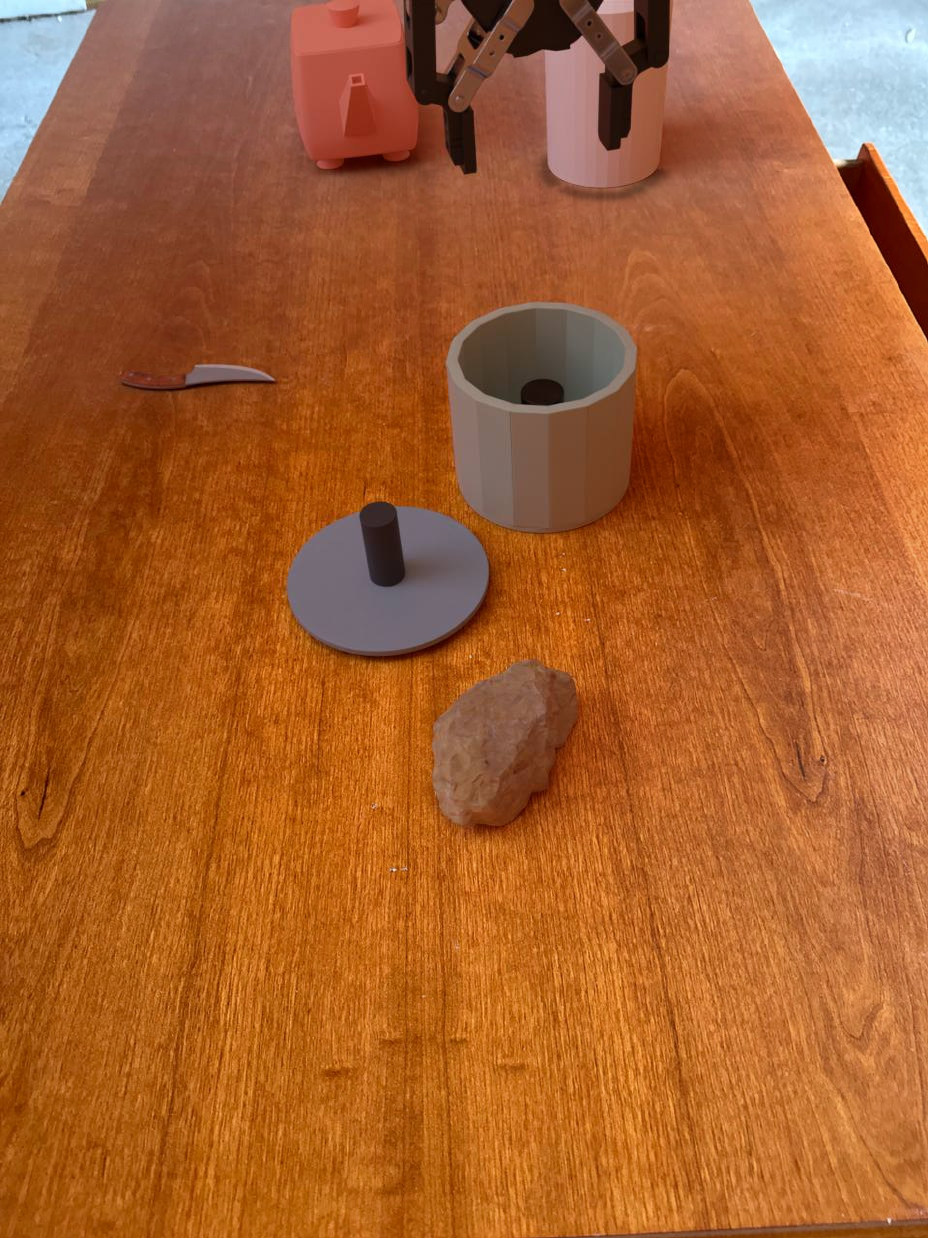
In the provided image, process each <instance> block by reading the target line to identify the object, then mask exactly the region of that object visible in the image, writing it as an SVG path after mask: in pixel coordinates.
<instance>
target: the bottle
mask: <svg viewBox="0 0 928 1238" xmlns="http://www.w3.org/2000/svg"><path fill="white" fill-rule="evenodd" d="M673 8H674V0H670V34H672V33H671V32H672V23H673V22H672V21H673V19H672V18H673V10H674V9H673ZM597 14H598V15H599V17H600V18H601V19H602V21H603V22H604V23H605V25H606V26H607V27H608V29H609V30H610V31H611V33H612V34H613V35H614V37H615V38H616V39H617V41H618V42H619V44H620V45H621V46H623V45H624V44H626V43H628V42H630V41H632V40H634V0H604V1H603V2H602V4H601V6H600V7H599V9H598V11H597ZM670 43H671V37H670V38H669V46H670ZM544 67H545V68H544V71H545V73H544V74H545V77H544V79H545V110H546V111H545V113H546V153H547V158H546V159H547V167H548V169H549V170H550V172H551V173H552V174H553V175H554V176H555V177H556V178H557V179H559V180H562V181H564V182H566V183H569V184H572V185H574V186H580V187H583V188H584V187H585V188H596V189H600V188H602V189H604V188H605V189H607V188H608V189H609V188H617V187H622V186H623V187H624V186H629V185H631V184H635V183H638V182H641V181H642V180H644V179H646V178H648V177H649V176H651V175H652V174H653V173H655V171H656V170H657V169H658V167H659V165H660V161H661V151H662V150H661V148H662V138H663V127H664V114H665V104H666V103H665V102H666V91H667V90H666V89H667V79H668V68H669V60H668V61H667V63H666V64H665V65H664V66H663V67H661V68H653V67H651V68H649V69H647V70H645V71H643V72H642V73H640V74H639V75H638V76H637V77H636V79H635V81H634V83H633V92H632V110H631V112H632V113H631V129H630V132H629V134H628V136H627V138H621V147H620V149H617V150H611V151H607V150H606V149H605V147H604V146H603V144H602V143H601V142H600V140H599V136H598V107H599V73H605V64H604V63H603V62H602V60H601V59H600V58H599V57H598V55H597V54H596V53H595V51H594V50H593V49H592V47H591V46H590V45H589V44H588V42H587V41H586V40H585V38H584V37H583V36H581V37H580V38H579V39H578V40H577V41H576V42H574V43H573V44H571V45H570V49H568V50H562V51H550V50H544Z"/></svg>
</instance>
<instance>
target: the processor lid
mask: <svg viewBox="0 0 928 1238" xmlns="http://www.w3.org/2000/svg"><path fill="white" fill-rule="evenodd" d="M489 583H490V565H489V560H488V556H487V553H486V550H485V549H484V547H483V545H482V543H481V541H480V540H479V539H478V537H477V536H476V535H475V534H474V533H473V532H472V531H471V530H470V529H469V528H467V527H466V526H465V525H464V524H462V523H461V522H459V521H458V520H456V519H454V518H452V517H450V516H448V515H446V514H444V513H442V512H438V511H434V510H431V509H428V508H422V507H417V506H416V507H415V506H403V505H402V506H401V505H400V506H399V505H393V503H391V502H388V501H383V500H381V501H379V500H378V501H372V502H369V503H368V504H366V505H364V506H363V507H362V509H360V511H357V512H354V513H350V514H348V515H345V516H344V517H340V518H339V519H337V520H335V521H333V522H331V523H329V524H327V525H326V526H325V527H323V528H322V529H320V530H319V531H318V532H316V533H315V534H314V535H313V536H312V537H310V538H309V539H308V540H307V541H306V542H305V543H304V545H303V546H301V548H300V549H299V551H298V552H297V554H296V555H295V556H294V558H293V560H292V562H291V565H290V567H289V570H288V574H287V580H286V594H287V599H288V603H289V606H290V610H291V612H292V614H293V616H294V618H295V619H296V621H297V622H298V624H299V625H300V627H302V628H303V630H305V631H306V633H307V634H309V636H311V637H312V638H314V639H316V641H318V642H320V643H322V644H324V645H326V646H327V647H330V648H331V649H332V648H333V649H335V650H338V651H340V652H344V653H349V654H352V655H359V656H367V657H385V656H386V657H388V656H391V657H392V656H399V655H404V654H409V653H413V652H417V651H420V650H423V649H426V648H429V647H431V646H435V645H436V644H438V643H440V642H442V641H444V640H446V639H448V638H449V637H451V636H452V635H454V634H455V633H457V632H458V631H459V630H461V629H462V628H463V627H464V626H465V625H467V624H468V623H469V621H470V620H471V619H472V618H473V617H474V616H475V615H476V613H477V611H479V609H480V608H481V606H482V604H483V602H484V600H485V598H486V595H487V592H488V589H489V585H490V584H489Z"/></svg>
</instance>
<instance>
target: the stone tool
mask: <svg viewBox="0 0 928 1238" xmlns="http://www.w3.org/2000/svg"><path fill="white" fill-rule="evenodd" d="M576 686H577V685H576V682H575V679H574V678H573V676H572V675H571V674H570V673H568V671H565V670H559V669H554V668H551V667H548V666H546V665H545V664H544V663H543V662H541V661H540V660H539V659H537V658H529V659H525V660H520V661H516V662H514V663H511V664H510V665H509V667H508V668H507V669H505V670H504V671H503V672H500V673H497V674H495V675H494V676H491V677H489V678H486V679H482V680H480V681H477V682H476V683H475V684H473V685H472V686H471V687H470V688H468V689H467V690H466V691H464V692H462V693H461V695H460V696H459V697H457V698H456V699H455V700H454V701H453V703H452V704H451V706H450V707H449V708H448V709H447V710H446V711H444V712H443V713H442V714H441V715H440V716H439V717H438V718H437V719H436V720H435V722H434V723H433V726H432V731H433V736H434V737H433V739H432V742H431V751H432V753H433V757H434V762H433V763H434V765H433V766H434V767H433V770H432V771H431V780H432V781H431V782H432V785H431V786H432V788H433V790H434V791H435V796H436V798H437V800H438V807H439V809H440V811H441V812H442V814H443V816H444V817H445V818H447V819H448V820H449V821H451V823H453V824H455V825H458V826H459V827H462V828H466V829H469V830H470V829H472V828H474V827H475V826H476V825H477V824H480V825H487V826H497V827H502V826H505V825H507V824H509V823H512V822H513V821H514V820H516V818H517V817H518V816H519V814H520V813H521V811H522V810H523V809H525V808H526V807H527V806H528V803H529V801H530V798H531V795H532V794H533V792H538V793H541V792H544V791H545V790H547V789H549V788H550V783H549V773H550V771H551V770H552V768H554V766H555V764H556V762H557V754H556V748H557V749H559V748H562V747H563V746H564V745H566V744H567V740H568V737H569V735H570V734H571V733H572V730H573V728H574V725H575V724H576V723H577V722H578V719H579V714H578V709H579V706H580V703H579V700H578V693H577V687H576Z"/></svg>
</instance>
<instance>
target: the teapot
mask: <svg viewBox="0 0 928 1238" xmlns="http://www.w3.org/2000/svg"><path fill="white" fill-rule="evenodd" d="M400 15H401V14H400V13H399V9H398V7H397V4H396V3H395V1H394V0H330V1H329V2H327V3H326V2H325V3H318V4H311V5H302V6H296V7H295V8H294V9H293V11H292V14H291V19H290V20H291V22H290V70H291V73H290V74H291V85H292V86H291V87H292V94H293V95H292V96H293V104H294V112H295V118H296V123H297V127H298V131H299V134H300V138H301V141H302V144H303V146H304V149H305V152H306V154H307V156H308V158H309V159H310V160H311V161H314V162H316V164H317V167H319V168H320V169H323V170H332V169H333V170H334V169H338V168H339V167H341V166H343V165H344V163H345V159H349V158H350V159H351V158H358V157H368V156H375V155H382V158H383V159H384V160H386V161H387V162H399V161H401V162H402V161H404V160H406V159H408V158H409V157H410V155H411V153H410V151H411V150H413V149H415V148H416V145H417V141H418V135H419V134H418V132H419V103H418V102H417V101H416V99H415V97H414V95H413V93H412V90H411V88H410V86H409V84H408V82H407V79H406V58H405V32H404V25H403V23H402V19H401V16H400Z"/></svg>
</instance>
